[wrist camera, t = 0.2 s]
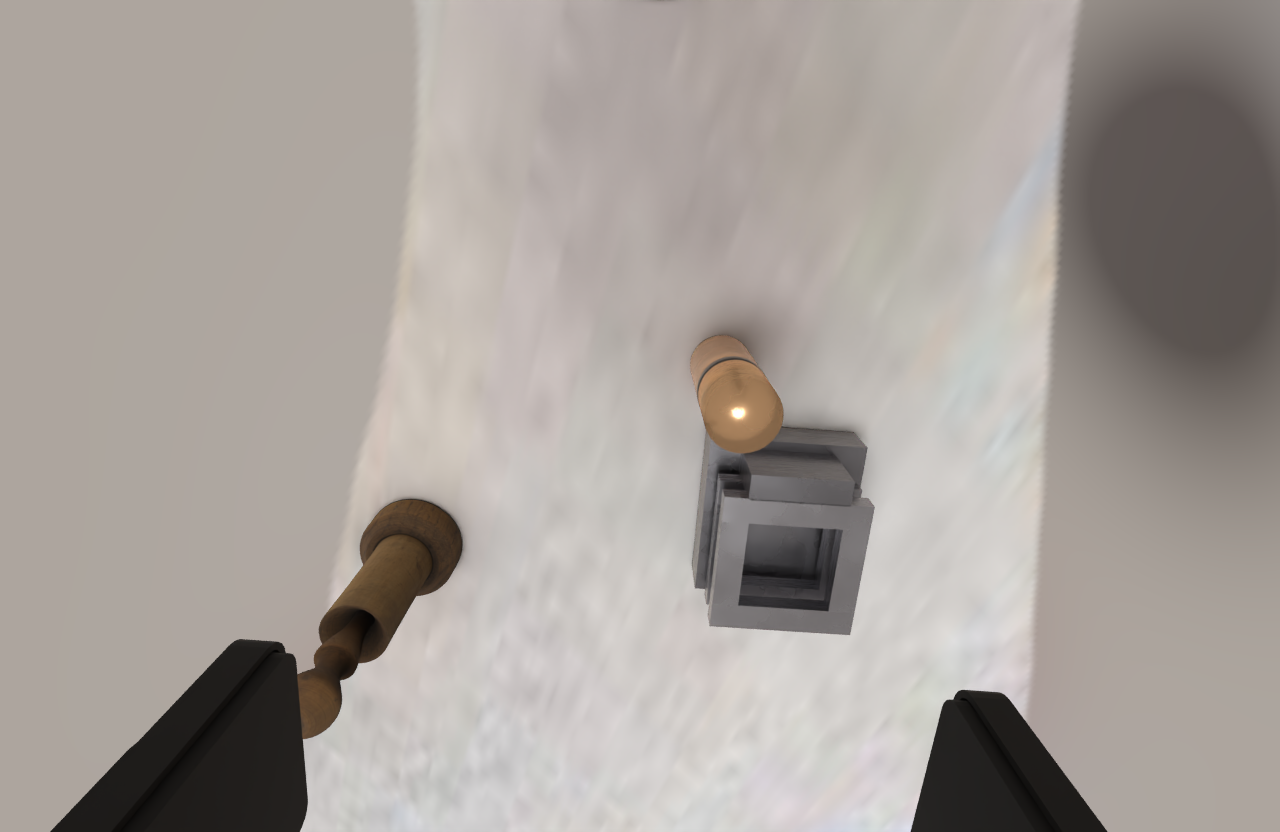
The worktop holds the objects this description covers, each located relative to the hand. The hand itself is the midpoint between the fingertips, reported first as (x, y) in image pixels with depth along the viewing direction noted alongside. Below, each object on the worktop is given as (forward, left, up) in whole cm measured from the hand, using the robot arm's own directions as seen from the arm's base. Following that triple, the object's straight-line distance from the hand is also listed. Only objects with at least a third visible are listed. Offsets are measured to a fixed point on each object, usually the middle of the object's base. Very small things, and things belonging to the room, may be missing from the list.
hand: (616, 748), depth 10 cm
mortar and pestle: (+17, -15, -36) cm, 42 cm away
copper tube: (+3, +6, -36) cm, 36 cm away
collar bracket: (+12, +10, -36) cm, 39 cm away
